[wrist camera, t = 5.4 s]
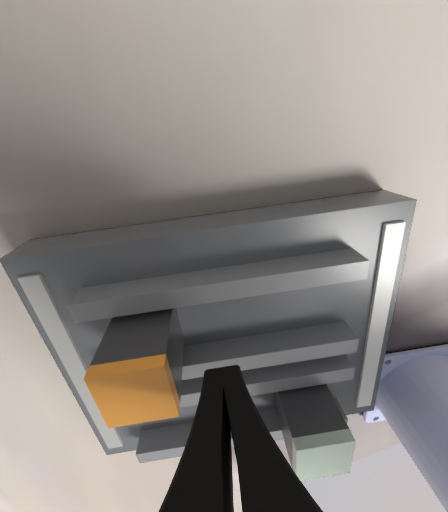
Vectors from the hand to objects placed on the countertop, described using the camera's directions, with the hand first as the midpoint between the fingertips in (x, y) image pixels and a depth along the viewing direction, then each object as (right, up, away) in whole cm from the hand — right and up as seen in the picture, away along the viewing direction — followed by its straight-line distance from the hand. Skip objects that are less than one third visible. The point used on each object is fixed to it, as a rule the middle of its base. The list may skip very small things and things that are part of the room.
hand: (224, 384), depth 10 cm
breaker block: (0, 0, +8) cm, 8 cm away
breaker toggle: (-4, +1, +4) cm, 6 cm away
